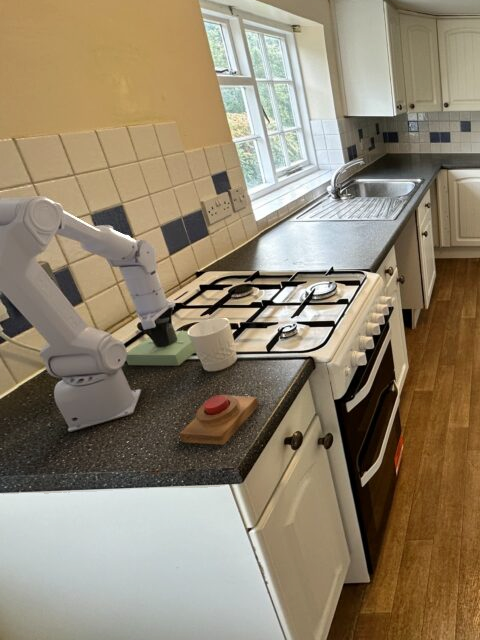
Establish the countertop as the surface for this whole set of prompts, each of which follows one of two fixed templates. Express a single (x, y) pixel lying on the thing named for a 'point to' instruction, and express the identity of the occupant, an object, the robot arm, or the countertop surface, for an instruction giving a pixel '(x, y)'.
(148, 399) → the countertop surface
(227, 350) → the white cup
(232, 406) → the button block
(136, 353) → the dial panel
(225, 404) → the button
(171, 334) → the dial
